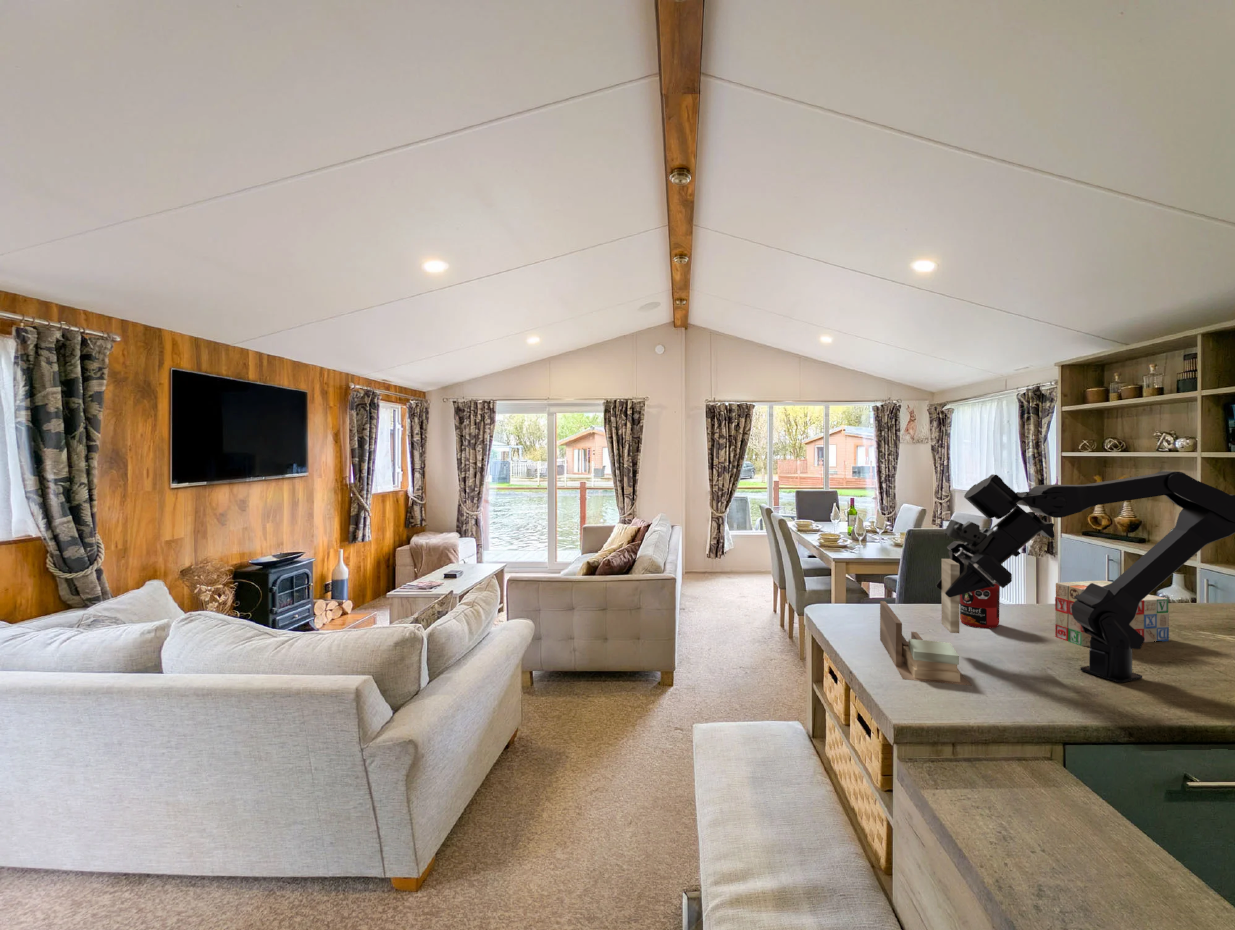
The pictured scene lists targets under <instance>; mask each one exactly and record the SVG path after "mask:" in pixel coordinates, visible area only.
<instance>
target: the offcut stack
mask: <svg viewBox="0 0 1235 930" xmlns="http://www.w3.org/2000/svg"><path fill="white" fill-rule="evenodd" d="M908 641H909V647H907V646H903V652H902V654H903V655H904V662H905V664H906V665H907V667H908V669H909V670H910V672H911V673H912V675H913V676H914V678H920V679H931V680H942V681H953V682H960V673H959V671H960V670H959V669H958V666H959V665H960V655H959V654H958V652H957V651H956V649H955V648H954V646H953V644H952V643H951V642H944V641H938V640H937V641H935V640H924V639H923V640H916V639H911V638H908ZM957 669H958V670H959V671H958V670H957Z"/></svg>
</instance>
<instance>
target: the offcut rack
mask: <svg viewBox="0 0 1235 930" xmlns="http://www.w3.org/2000/svg"><path fill="white" fill-rule="evenodd" d="M879 607H880V608H879V611H880V613H879V614H880V616H879V640H880V642H881V643H882V646H883V647H884V649H885V650H886V652H887V654H888V656H889V658H890V660H891V661H892V663H893V665H894V666H895V668H896V669H897V671H898V674H899V675H900V677H901V678H902V680H906V681H915V682H917V681H919V682H930V683H938V684H939V683H940V684H950V685H951V684H952V685H961V686H962V685H963V686H970V687H971V686H972V683H971V682H970V681H969V680H968V679H967V677H965V676H964V674H963V673H962V672H961V671H960V670H959V668H957V670H958V671H959V673H960V682H953V681H942V680H931V679H920V678H914V676H913V675H912V673H911V672H910V670H909V669H908V667H907V665H906V664H905V662H904V655H903V654H902V652H903V646H907V647H909V640H908V641H907V639H906V638H905V637H904V635H903V622H902V621H901V620H900V619H899V618H898V616H897V615H896V613H895V612H894V611H893V610H892V608H891V607H890V606H889V604H888V603H887V602H886V601H882V600H881V601H880V602H879ZM910 633H911V634H910V635H911V636H910V637H911V638H910V639H916V640H924V639H923V638H922V636H921V635H920V634H919V633H918V632H917V631H911V632H910Z"/></svg>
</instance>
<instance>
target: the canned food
mask: <svg viewBox="0 0 1235 930" xmlns="http://www.w3.org/2000/svg"><path fill="white" fill-rule="evenodd" d="M995 582H996V581H995V580H994V581H993V582H992V583H993V584H994V585H995V587H989V588H984V589H980V590H976V591H972V592H968V593H965V594H961V595H959V621H960V622H961V623H962V624H963V625H965V624H966V625H965V626H968V625H969V627H972V626H973V628H977V627H980V628H979V629H996V628H997V627H999V625H1000V597H1001V596H1000V595H1001V594H1000V591H1001V590H1000V589H1001V588H1000V586H998V585H997V584H996V583H995Z"/></svg>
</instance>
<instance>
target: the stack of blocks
mask: <svg viewBox="0 0 1235 930" xmlns="http://www.w3.org/2000/svg"><path fill="white" fill-rule="evenodd" d="M1091 583H1094V584H1096V585H1099V586H1101V587H1103V586H1106V585H1109V584H1111V583H1112V581H1108V580H1085V581H1084V580H1083V581H1082V580H1081V581H1067V582H1066V581H1065V582H1055V597H1054V607H1055V635H1054V636H1055V638H1058V639H1060V640H1063V641H1066V642H1069V643H1072V644H1075V645H1078V646H1081V647H1085V646H1087V647H1090V640H1091V637H1092V636H1090V635H1089V634H1086V633H1084V631H1083V628H1082V626H1081V624H1079V623H1078V622H1077V621H1076V620H1075V619H1074V617H1073V615H1072V609H1071V607H1072V604H1073V603H1074V602H1075V601H1076V600H1077V599H1075V598H1074V596H1077V595H1079V594H1081V593H1082V592H1083V591H1084V590H1085V589H1086V587H1087V586H1088V585H1089V584H1091ZM1129 625H1130V626H1131V627H1133V628H1134V629H1135V630H1136V631H1137V632H1138V633H1139V634H1141V635H1142V636H1143V637H1144V638H1145V640H1144V642H1143V643H1156V641H1162V642H1169V640H1170V613H1169V598H1166V597H1162V596H1158V595H1152V594H1148V595H1147V596H1146V597H1145V598H1144V599H1143V600H1142V601H1141V602H1140V603H1139V606H1138V609H1137V612H1136V616H1135V618H1134V619H1133V621H1132V622H1131V623H1130V624H1129ZM1154 641H1155V642H1154Z"/></svg>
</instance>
